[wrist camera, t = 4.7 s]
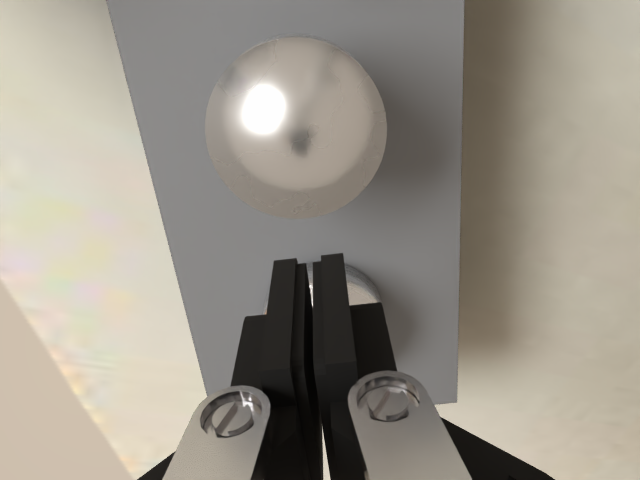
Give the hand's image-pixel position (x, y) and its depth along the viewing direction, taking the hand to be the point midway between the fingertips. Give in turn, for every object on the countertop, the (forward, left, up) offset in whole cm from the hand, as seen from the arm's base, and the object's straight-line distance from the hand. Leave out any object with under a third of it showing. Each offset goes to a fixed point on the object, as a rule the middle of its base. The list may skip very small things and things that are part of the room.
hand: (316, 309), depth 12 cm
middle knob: (0, -3, -11) cm, 12 cm away
